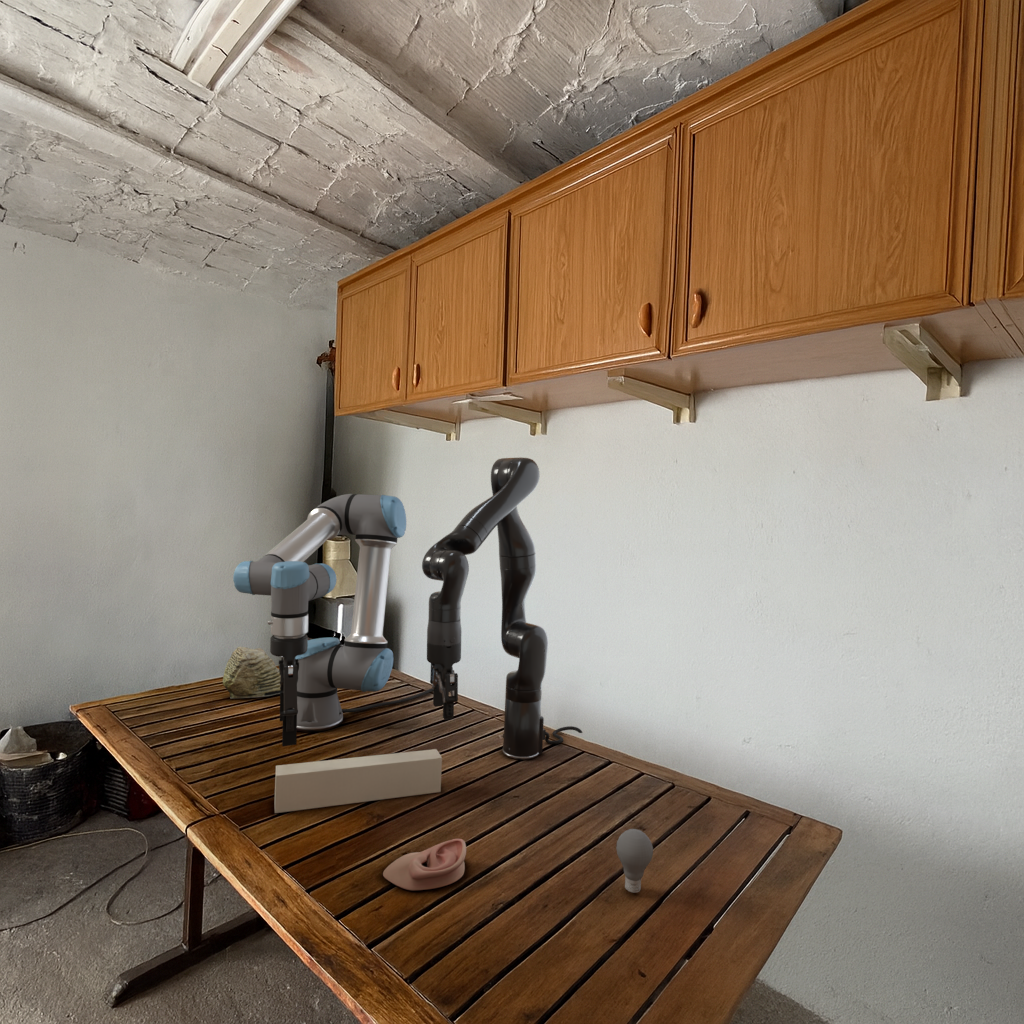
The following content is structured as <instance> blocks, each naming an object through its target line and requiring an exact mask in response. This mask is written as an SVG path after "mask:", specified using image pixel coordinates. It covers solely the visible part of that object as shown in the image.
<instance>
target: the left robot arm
mask: <svg viewBox="0 0 1024 1024" xmlns="http://www.w3.org/2000/svg"><path fill="white" fill-rule="evenodd" d="M406 530H407V514H406V509H405V505H404V504H403V502H402V500H401V499H400V497H399V498H398V497H397V496H394V495H385V494H361V493H360V494H358V493H346V494H341V495H337V496H335V497H332V498H330V499H328V500H326V501H324V502H322V503H321V504H319V505H317V506H316V507H314V509H312V510H311V511H310V512H309V513H308V514H307V518H306V520H305V521H304V522H302V523H301V524H300V525H299V526H297V527H296V528H295V529H294V530H293V531H292V532H290V533H289V534H288V535H287V536H285V537H284V538H283V539H282V540H281V541H280V542H278V543H277V544H276V545H275V546H274V547H273V548H271V549H270V550H269V551H268V552H266V553H265V554H264V555H263V556H262V557H260V558H259V559H258V560H256V561H254V560H246V561H245V560H244V561H241V562H240V563H238V564H237V566H236V567H235V569H234V572H233V577H232V578H233V579H232V580H233V584H234V588H235V589H236V591H238V592H239V593H241V594H247V595H248V594H249V595H252V596H270V601H271V602H270V619H269V620H267V625H270V635H272V636H271V637H270V639H269V640H270V641H269V642H270V643H269V653H270V654H271V655H272V656H275V657H279V658H280V657H281V658H280V659H279V660H278V669H279V672H280V675H281V676H280V685H281V686H280V690H281V691H283V692H280V694H279V722H282V740H281V741H282V742H281V743H282V744H281V745H282V747H290V746H297V737H298V736H297V735H298V734H297V733H298V732H301V733H316V732H325V731H329V730H332V729H335V728H337V727H339V726H340V725H342V723H343V722H344V714H343V713H358V712H363V711H367V710H370V709H375V708H379V707H385V706H391V705H397V704H402V703H405V702H408V701H409V702H410V701H412V700H415V699H417V698H420V697H423V696H426V695H428V694H430V693H433V690H434V689H433V688H432V687H431V688H429V689H426V690H424V691H422V692H420V693H417V694H414V695H411V696H408V697H405V698H401V699H396V700H395V699H394V700H390V701H384V702H378V703H374V704H369V705H365V706H362V707H357V708H342V706H341V702H340V699H339V695H338V689H339V690H340V689H341V690H351V691H359V692H360V691H361V692H363V693H366V692H373V693H375V692H379V691H381V690H382V689H383V688H384V687H385V685H386V684H387V683H388V681H389V679H390V676H391V673H392V670H393V666H394V653H393V651H392V650H391V648H388V640H387V639H386V638H385V637H384V625H385V613H386V603H387V593H388V583H389V574H390V563H391V553H392V549H394V548H395V547H396V546H397V545H398V539H401V538H403V537H404V536H405V532H406ZM341 535H353V536H354V535H355V537H354V539H355V540H354V541H355V542H356V544H357V545H358V546H359V551H358V553H359V554H358V563H357V572H356V581H355V591H354V601H353V610H352V620H351V630H350V634H349V635H348V636H346V637H345V638H344V641H343V642H344V643H343V644H340V643H341V641H340V639H339V638H338V637H334V636H333V637H332V636H331V637H318V638H313V639H309V637H308V635H307V634H308V633H309V602H310V601H313V600H315V599H319V598H323V597H325V596H326V595H328V594H330V593H331V592H332V591H333V590H334V589H335V587H336V585H337V580H338V579H337V574H336V572H335V569H334V568H333V567H332V566H330V565H329V564H327V563H314V564H308V563H307V562H306V561H307V559H308V558H310V556H312V554H314V553H315V552H316V551H317V550H318V549H319V548H320V547H321V546H323V544H324V543H326V541H331V540H333V539H335V538H337V536H341Z"/></svg>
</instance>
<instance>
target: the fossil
mask: <svg viewBox="0 0 1024 1024" xmlns="http://www.w3.org/2000/svg"><path fill="white" fill-rule="evenodd" d="M222 676H223V677H222V685H223V687H224V688H225V690H226V691H228V693H229V698H230V699H250V698H264V697H271V696H275V695H280V692H283V691H281V690H280V686H281V685H280V676H281V675H280V672H279V667H277V665H276V663H275V662H274V660H273V659H272V658H271V657H270V656H269V655H268V654H267V653H266V652H265V650H264V649H263V648H260V647H258V648H251V647H247V646H246V647H245V646H238V647H237V648H236V649H235V650H233V651H232V653H231V656H230V657H229V659H228V660H227V663H226V666H225V668H224V671H223V675H222Z"/></svg>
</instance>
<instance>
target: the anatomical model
mask: <svg viewBox="0 0 1024 1024" xmlns="http://www.w3.org/2000/svg"><path fill="white" fill-rule="evenodd" d="M466 856H467V844H466V842H465V840H464V839H462V838H453V839H449V840H446V841H443V842H440V843H438V844H435V845H433V846H431V847H428V848H426V849H424V850H422V851H420V852H419V851H418V852H417V851H416V852H410V853H409V852H408V853H407V854H404V855H402V856H400V857H398V858H396V859H395V860H394V861H392V862H391V863H390V864H389V865H388V866H387V867H385V869H384V870H383V872H382V876H383V878H384V879H385V880H387V881H388V882H390V883H392V885H395V886H397V887H398V888H401V889H404V890H407V891H423V890H432V889H439V888H442V887H445V886H448V885H451V884H453V883H456V882H457V881H459V880H460V879H461V878H462V877H464V874H465V871H466V865H465V859H466Z"/></svg>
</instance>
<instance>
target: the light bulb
mask: <svg viewBox="0 0 1024 1024" xmlns="http://www.w3.org/2000/svg"><path fill="white" fill-rule="evenodd" d="M615 849H616V854H617V857H618V859H619V861H620V863H621V865H622V867H623V873H624V874H623V875H624V876H625V878H624V888H625V890H627V891H628V892H630V893H634V894H635V893H639V892H640V891H641V889H642V887H641V886H642V879H643V877H644V875H645V871H646V868H647V867H648V866H649V864H650V863H651V861H652V859H653V855H654V847H653V843H652V841H651V838H649V836H648V835H647V834H646V833H645V832H643V831H642V830H641V829H636V828H629V829H627V830H625V831H623V832H622V833H621V834H620V835H619V837H618V839H617V841H616V847H615Z"/></svg>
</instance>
